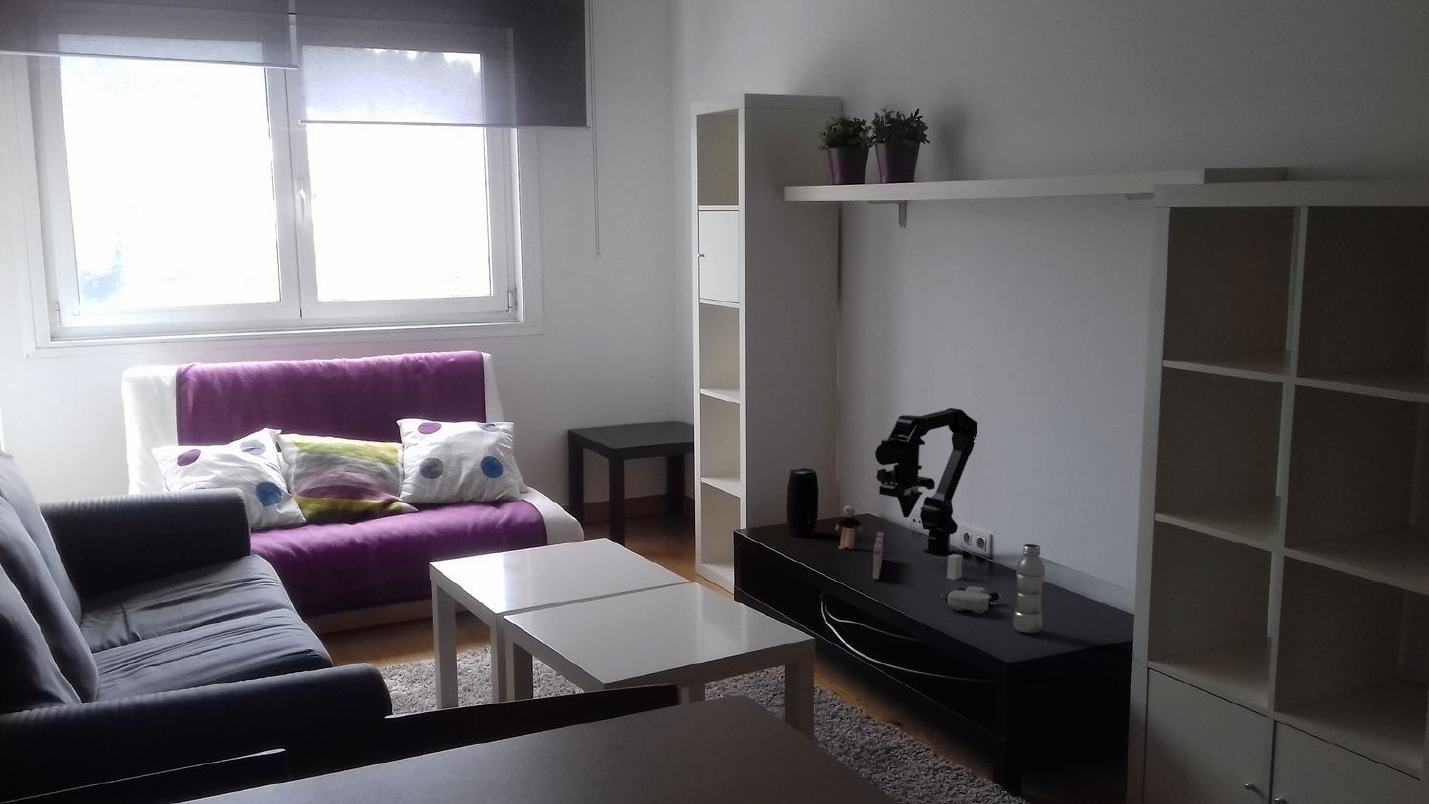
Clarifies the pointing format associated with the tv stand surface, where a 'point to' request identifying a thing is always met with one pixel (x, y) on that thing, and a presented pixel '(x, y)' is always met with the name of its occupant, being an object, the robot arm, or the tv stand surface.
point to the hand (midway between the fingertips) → (906, 517)
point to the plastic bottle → (1029, 590)
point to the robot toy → (971, 599)
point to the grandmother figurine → (848, 528)
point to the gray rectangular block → (954, 567)
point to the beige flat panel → (878, 554)
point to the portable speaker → (802, 502)
